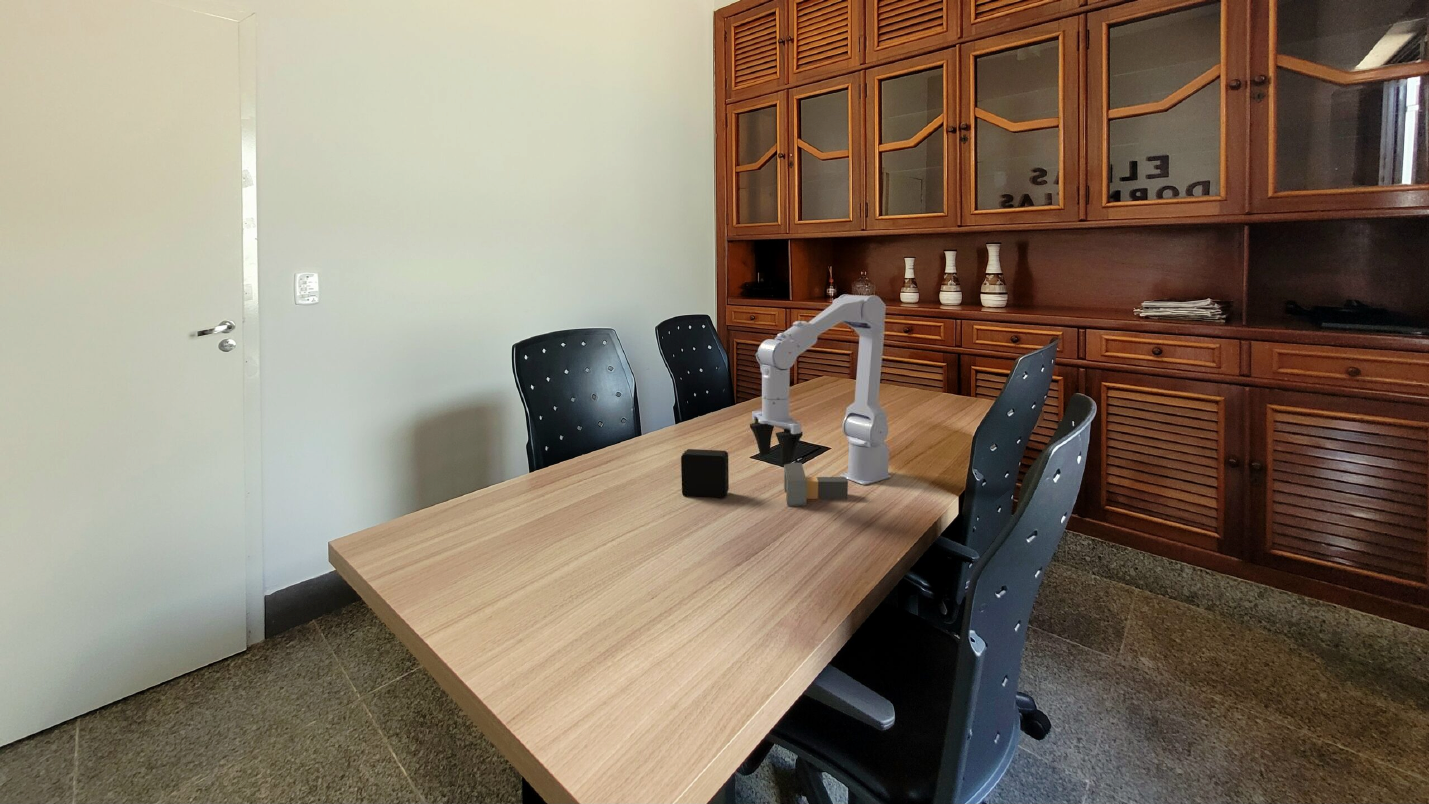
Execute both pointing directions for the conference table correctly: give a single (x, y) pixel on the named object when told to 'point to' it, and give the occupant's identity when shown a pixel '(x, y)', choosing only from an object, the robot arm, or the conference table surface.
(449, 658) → the conference table surface
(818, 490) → the orange and grey bar
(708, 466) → the electronic device
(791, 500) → the grey rectangular block
